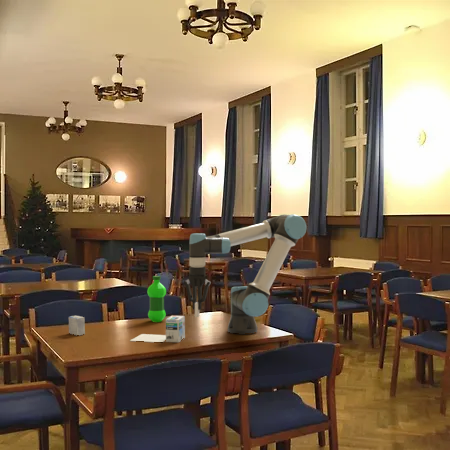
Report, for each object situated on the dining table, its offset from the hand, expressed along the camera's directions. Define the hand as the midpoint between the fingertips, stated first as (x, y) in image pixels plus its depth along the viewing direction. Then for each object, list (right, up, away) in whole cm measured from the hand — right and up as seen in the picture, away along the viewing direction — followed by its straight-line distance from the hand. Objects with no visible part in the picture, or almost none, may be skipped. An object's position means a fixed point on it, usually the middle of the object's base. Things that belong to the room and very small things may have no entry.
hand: (197, 316), depth 270 cm
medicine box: (-61, -12, +16) cm, 64 cm away
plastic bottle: (-25, -11, +50) cm, 57 cm away
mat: (-22, -12, +6) cm, 26 cm away
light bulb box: (-10, -12, +3) cm, 16 cm away
